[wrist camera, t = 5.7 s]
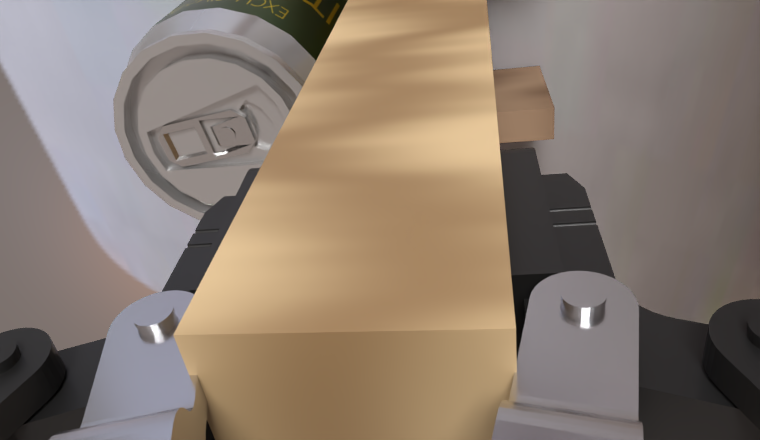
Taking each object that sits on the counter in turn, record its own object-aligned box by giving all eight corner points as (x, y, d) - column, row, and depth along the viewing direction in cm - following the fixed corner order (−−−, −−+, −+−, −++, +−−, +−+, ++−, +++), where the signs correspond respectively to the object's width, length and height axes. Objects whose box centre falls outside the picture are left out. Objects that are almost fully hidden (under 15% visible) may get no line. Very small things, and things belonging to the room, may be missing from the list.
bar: (481, -64, 22) (516, 328, 7) (485, 41, 24) (520, 537, 8) (374, -52, 23) (172, 335, 7) (387, 49, 25) (250, 529, 9)
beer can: (276, 76, 27) (167, 249, 17) (223, -59, 24) (58, 55, 15) (402, 45, 26) (362, 213, 16) (362, -102, 23) (284, -8, 13)
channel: (541, -174, 22) (560, -166, 18) (539, 94, 27) (553, 138, 23) (246, -134, 23) (214, -119, 20) (298, 115, 28) (279, 160, 25)
